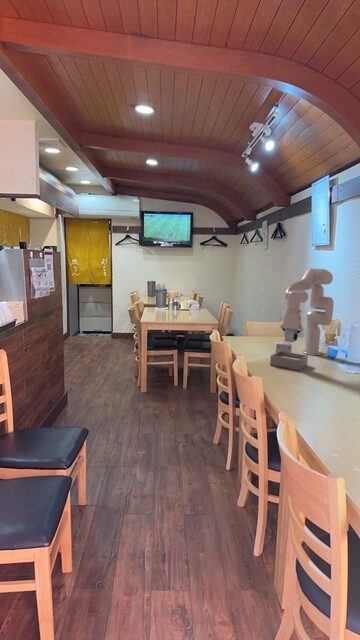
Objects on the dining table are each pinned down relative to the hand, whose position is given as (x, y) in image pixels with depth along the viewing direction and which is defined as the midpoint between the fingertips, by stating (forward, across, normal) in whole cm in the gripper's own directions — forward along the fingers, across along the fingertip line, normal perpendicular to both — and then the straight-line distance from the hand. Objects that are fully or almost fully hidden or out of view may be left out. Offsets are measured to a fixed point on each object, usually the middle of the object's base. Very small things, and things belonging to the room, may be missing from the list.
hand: (290, 339), depth 238 cm
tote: (+17, 0, 0) cm, 17 cm away
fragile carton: (+1, 0, 0) cm, 1 cm away
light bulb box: (+18, +10, -16) cm, 26 cm away
